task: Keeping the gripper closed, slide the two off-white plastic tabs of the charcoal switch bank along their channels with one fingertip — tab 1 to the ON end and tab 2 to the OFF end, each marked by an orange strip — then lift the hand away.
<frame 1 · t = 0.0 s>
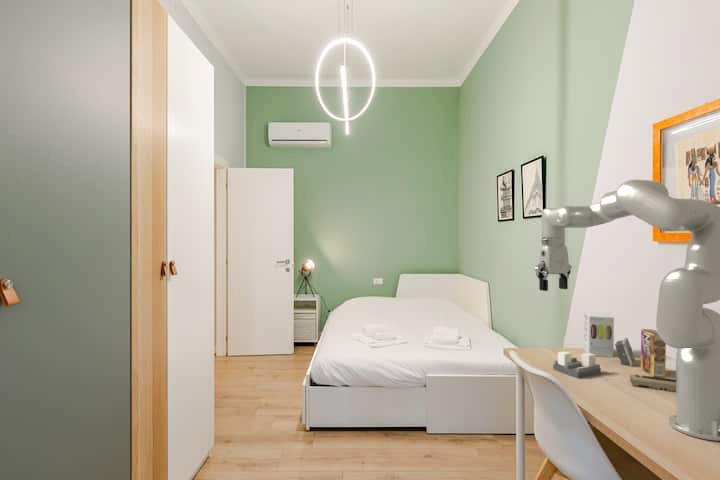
hand: (553, 289, 146), 31 cm above the table, tool pointing down, fingers open, 9 cm apart
switch bank: (576, 371, 151), on the table
electrical switch: (625, 363, 161), on the table
tab 2: (564, 358, 152), point 5 cm above the table, slide at 3.2 cm
candy box: (653, 373, 149), on the table
supplement box: (598, 354, 174), on the table
tab 1: (588, 360, 150), point 4 cm above the table, slide at -3.2 cm
computer: (659, 388, 136), on the table
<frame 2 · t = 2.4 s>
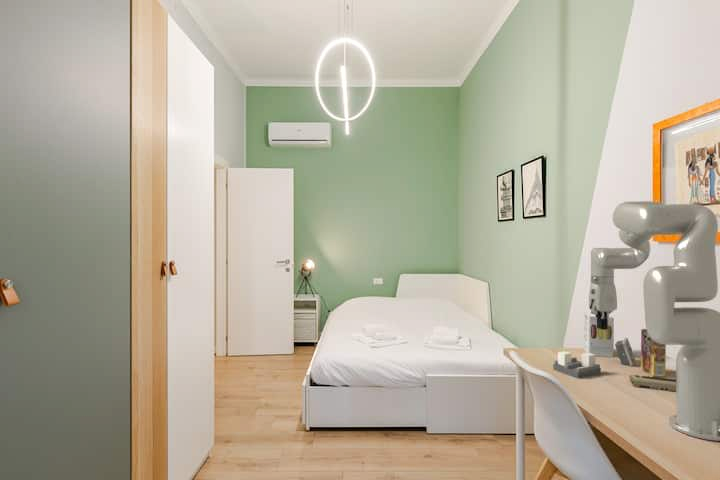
hand: (602, 328, 153), 15 cm above the table, tool pointing down, fingers closed
nothing on the table moved.
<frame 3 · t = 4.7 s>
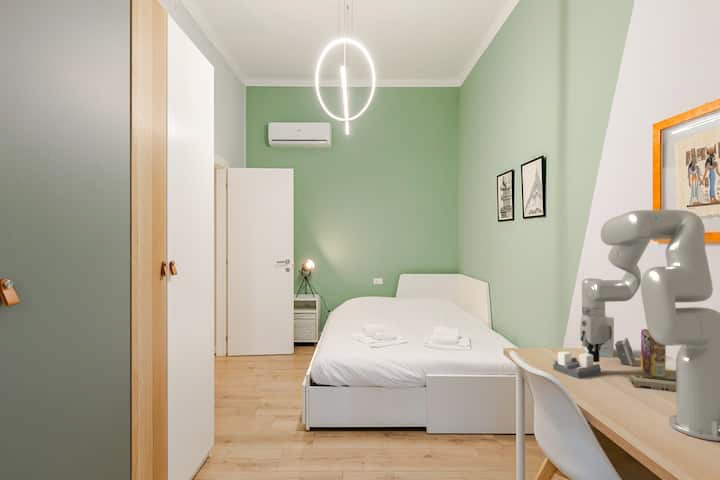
hand: (593, 360, 151), 4 cm above the table, tool pointing down, fingers closed
tab 1: (586, 360, 150), point 4 cm above the table, slide at -1.9 cm, touching gripper
everything else where it was.
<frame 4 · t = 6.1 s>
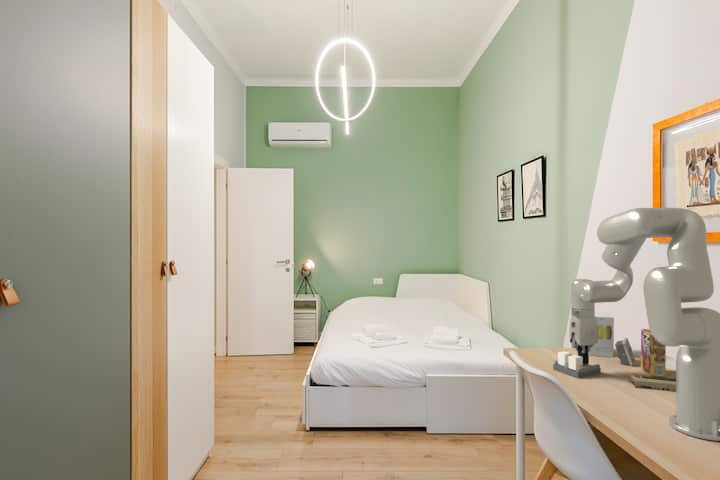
hand: (583, 362, 149), 4 cm above the table, tool pointing down, fingers closed
tab 1: (575, 362, 147), point 5 cm above the table, slide at 3.6 cm, touching gripper
everything else where it was.
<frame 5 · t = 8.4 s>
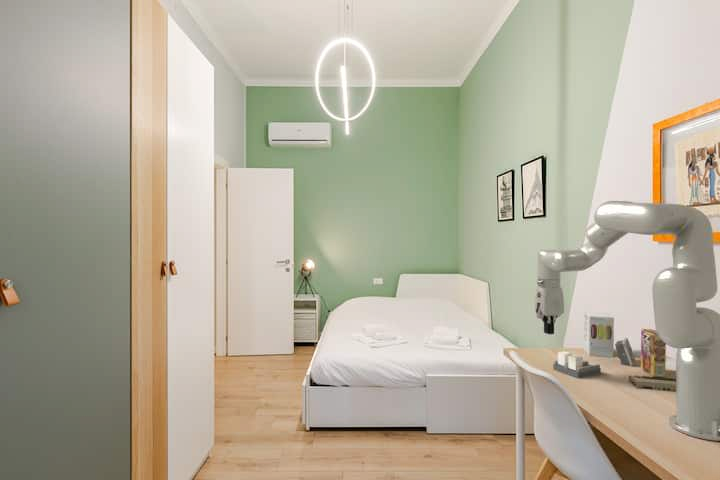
hand: (548, 333, 149), 15 cm above the table, tool pointing down, fingers closed
tab 1: (575, 362, 147), point 4 cm above the table, slide at 3.7 cm
everything else where it was.
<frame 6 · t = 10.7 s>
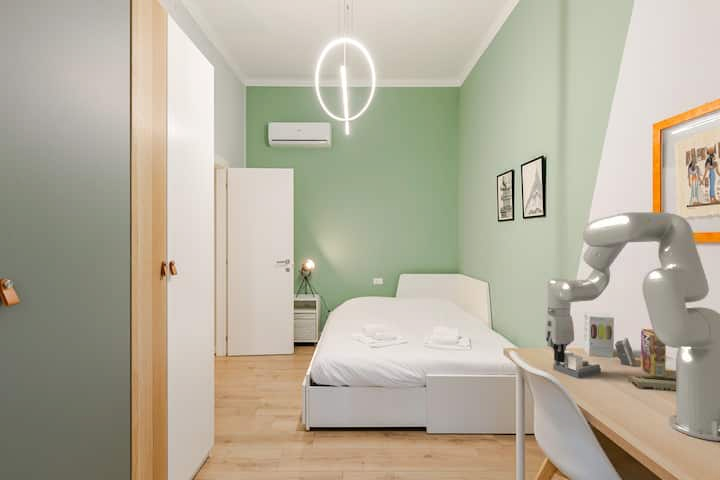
hand: (559, 361, 151), 4 cm above the table, tool pointing down, fingers closed
tab 2: (566, 358, 153), point 5 cm above the table, slide at 2.0 cm, touching gripper
everything else where it was.
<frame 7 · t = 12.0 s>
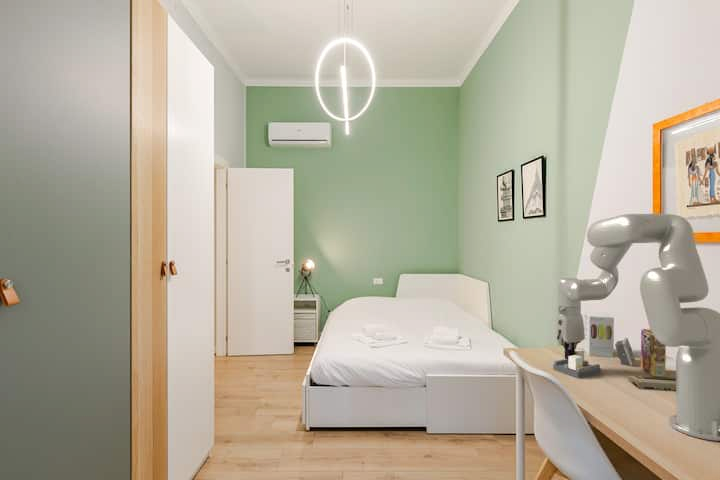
hand: (569, 359, 153), 4 cm above the table, tool pointing down, fingers closed
tab 2: (577, 356, 155), point 4 cm above the table, slide at -3.6 cm, touching gripper
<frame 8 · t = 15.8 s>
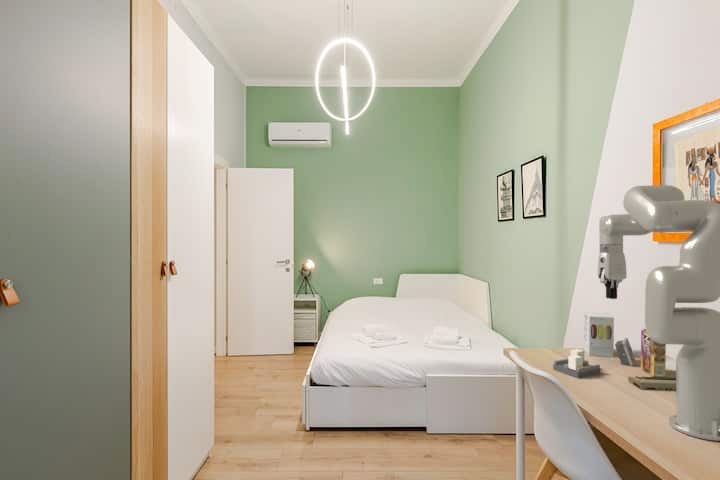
hand: (611, 298, 151), 27 cm above the table, tool pointing down, fingers closed
tab 2: (577, 356, 155), point 5 cm above the table, slide at -3.7 cm
at the end: tab 1 slide at 3.7 cm; tab 2 slide at -3.7 cm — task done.
